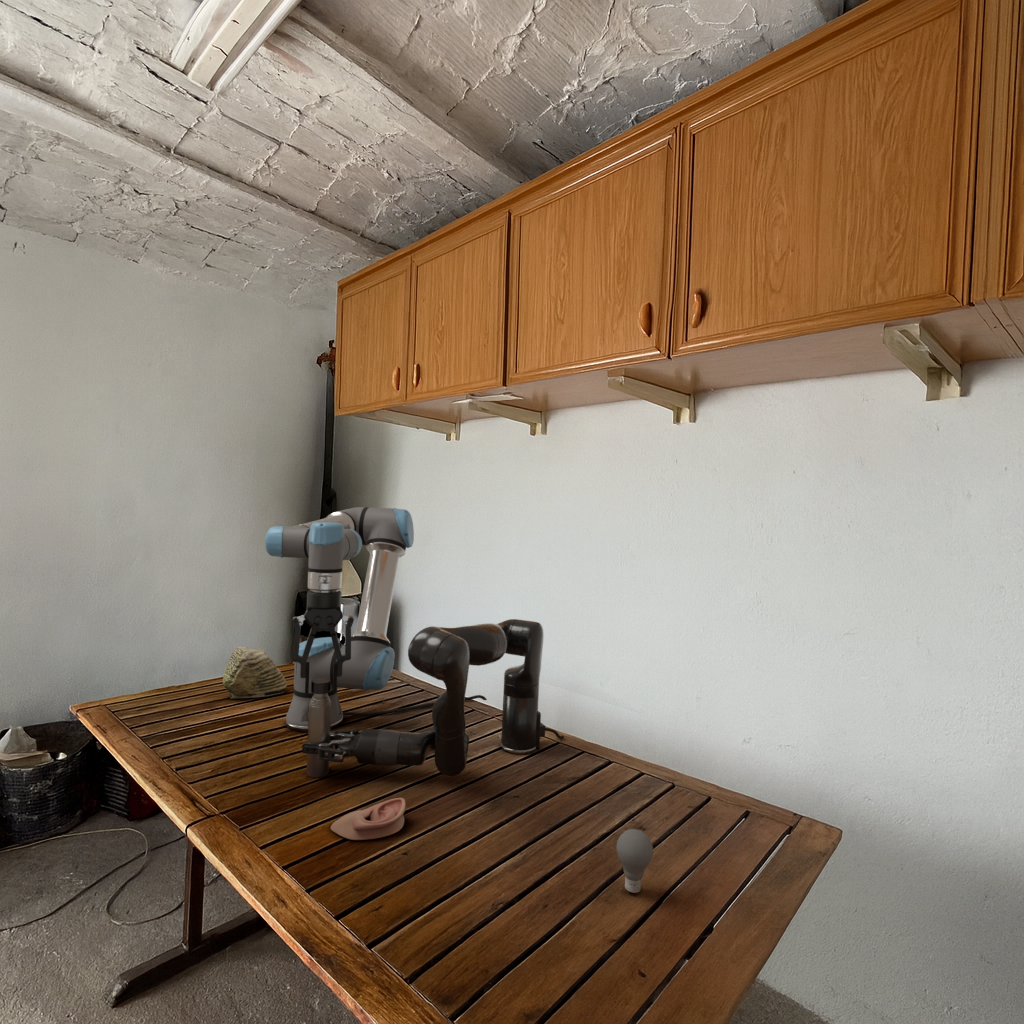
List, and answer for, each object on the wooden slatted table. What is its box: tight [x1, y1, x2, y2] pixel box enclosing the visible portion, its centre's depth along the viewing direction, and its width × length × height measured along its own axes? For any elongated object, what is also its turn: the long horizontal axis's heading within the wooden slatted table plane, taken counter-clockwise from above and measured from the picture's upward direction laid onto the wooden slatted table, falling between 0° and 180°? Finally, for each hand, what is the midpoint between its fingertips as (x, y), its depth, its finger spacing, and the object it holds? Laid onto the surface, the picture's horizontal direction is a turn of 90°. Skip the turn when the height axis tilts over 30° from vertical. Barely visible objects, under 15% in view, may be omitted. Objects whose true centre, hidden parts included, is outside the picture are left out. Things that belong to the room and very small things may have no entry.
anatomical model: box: [330, 797, 407, 841], centre depth 123 cm, size 13×4×12 cm
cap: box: [311, 678, 331, 694], centre depth 145 cm, size 4×4×2 cm
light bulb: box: [615, 828, 654, 894], centre depth 106 cm, size 6×6×10 cm
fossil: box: [222, 646, 288, 699], centre depth 198 cm, size 9×18×15 cm, turn 132°
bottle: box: [306, 693, 331, 778], centre depth 145 cm, size 5×5×21 cm
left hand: (320, 690), depth 145 cm, fingers open, 5 cm apart
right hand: (307, 743), depth 145 cm, fingers closed on bottle, 5 cm apart
